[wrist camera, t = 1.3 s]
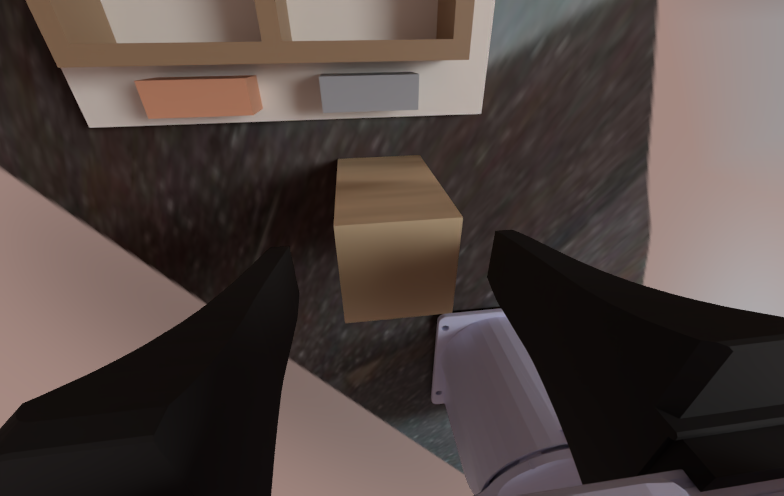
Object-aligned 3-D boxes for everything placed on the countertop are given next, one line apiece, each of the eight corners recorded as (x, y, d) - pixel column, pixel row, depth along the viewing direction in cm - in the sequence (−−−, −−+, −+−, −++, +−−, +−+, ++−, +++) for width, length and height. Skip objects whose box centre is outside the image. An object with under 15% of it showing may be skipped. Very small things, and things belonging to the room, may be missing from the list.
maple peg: (417, 226, 18) (451, 313, 12) (345, 231, 18) (345, 323, 12) (419, 154, 16) (462, 217, 10) (337, 159, 16) (333, 226, 10)
